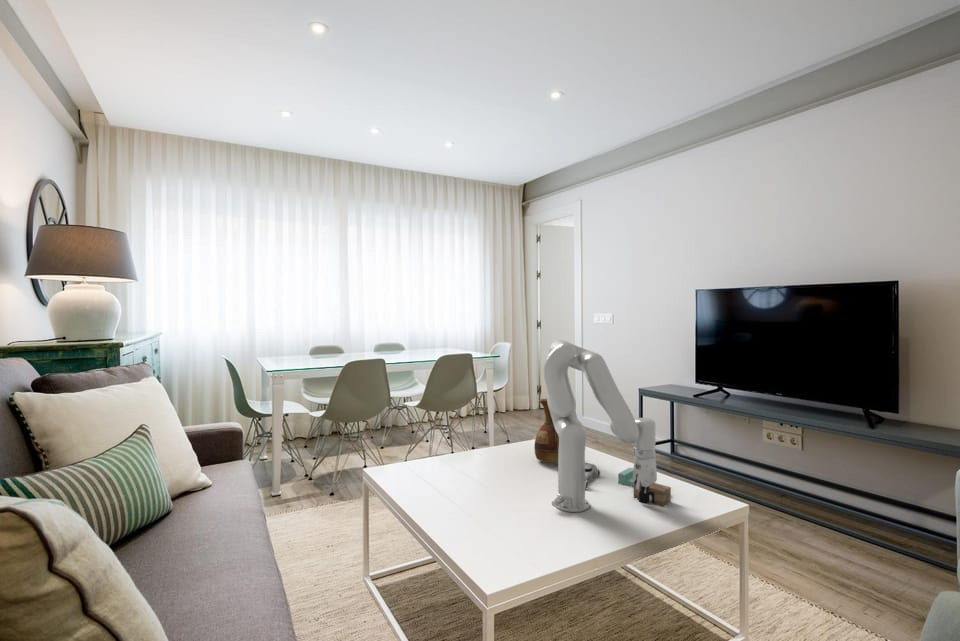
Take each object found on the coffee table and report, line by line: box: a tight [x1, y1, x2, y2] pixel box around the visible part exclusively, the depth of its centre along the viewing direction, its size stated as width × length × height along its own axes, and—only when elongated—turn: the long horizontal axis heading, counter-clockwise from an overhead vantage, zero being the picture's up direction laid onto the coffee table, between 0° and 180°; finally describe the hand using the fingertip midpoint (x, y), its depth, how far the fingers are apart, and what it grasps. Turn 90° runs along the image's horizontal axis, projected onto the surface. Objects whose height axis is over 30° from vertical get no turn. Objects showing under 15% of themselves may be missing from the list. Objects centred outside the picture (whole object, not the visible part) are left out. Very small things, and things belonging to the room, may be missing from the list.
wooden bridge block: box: [633, 482, 672, 507], centre depth 177 cm, size 6×12×6 cm, turn 46°
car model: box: [585, 462, 601, 490], centre depth 199 cm, size 11×24×5 cm, turn 150°
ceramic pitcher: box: [534, 398, 559, 464], centre depth 221 cm, size 20×20×30 cm
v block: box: [617, 467, 634, 488], centre depth 194 cm, size 10×11×4 cm
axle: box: [648, 492, 654, 504], centre depth 178 cm, size 14×3×3 cm, turn 134°
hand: (644, 502), depth 172 cm, fingers closed
